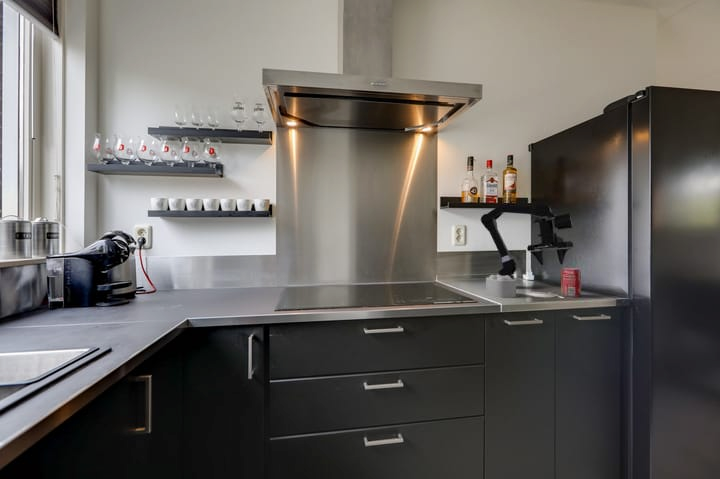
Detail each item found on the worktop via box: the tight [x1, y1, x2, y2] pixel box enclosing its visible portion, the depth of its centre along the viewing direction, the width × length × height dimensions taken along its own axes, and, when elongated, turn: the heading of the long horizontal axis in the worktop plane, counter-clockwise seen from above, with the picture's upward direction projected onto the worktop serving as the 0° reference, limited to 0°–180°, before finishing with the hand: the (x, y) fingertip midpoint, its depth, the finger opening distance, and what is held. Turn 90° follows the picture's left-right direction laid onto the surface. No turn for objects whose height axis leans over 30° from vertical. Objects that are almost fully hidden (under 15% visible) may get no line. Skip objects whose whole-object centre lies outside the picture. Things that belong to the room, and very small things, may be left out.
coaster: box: [525, 291, 556, 299], centre depth 138 cm, size 11×11×1 cm
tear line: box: [547, 292, 565, 299], centre depth 137 cm, size 12×1×1 cm, turn 175°
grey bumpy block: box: [485, 274, 517, 299], centre depth 138 cm, size 10×13×9 cm
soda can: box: [560, 267, 582, 298], centre depth 136 cm, size 7×7×12 cm
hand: (551, 264), depth 146 cm, fingers open, 9 cm apart
